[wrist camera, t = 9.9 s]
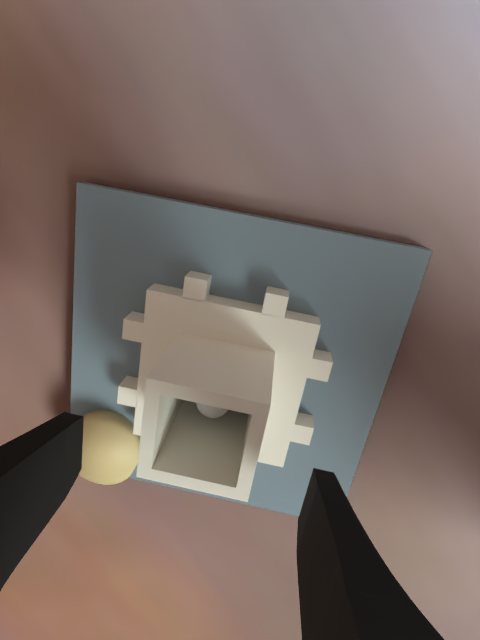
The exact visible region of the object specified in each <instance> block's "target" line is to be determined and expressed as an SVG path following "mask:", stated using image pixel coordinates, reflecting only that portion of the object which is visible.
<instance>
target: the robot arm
mask: <svg viewBox="0 0 480 640" xmlns="http://www.w3.org/2000/svg"><path fill="white" fill-rule="evenodd" d="M83 424H84V416H80V415H76V414H71V413H67V412H64V413H62V414H60V415H58V416H56V417H54V418H53V419H51V420H49V421H47V422H45V423H43V424H41V425H40V426H38V427H36V428H34V429H32V430H30V431H29V432H27V433H25V434H23V435H21V436H19V437H17V438H15V439H13V440H11V441H9V442H8V443H6V444H4V445H2V446H0V591H1V589H2V587H3V586H4V584H5V582H6V581H7V579H8V578H9V576H10V575H11V573H12V572H13V571H14V569H15V568H16V566H17V565H18V563H19V562H20V561H21V559H22V558H23V556H24V555H25V554H26V552H27V551H28V550H29V548H30V547H31V545H32V544H33V543H34V541H35V540H36V539H37V537H38V536H39V534H40V533H41V532H42V530H43V529H44V528H45V526H46V525H47V523H48V522H49V521H50V519H51V518H52V516H53V515H54V514H55V512H56V511H57V509H58V508H59V507H60V505H61V504H62V502H63V501H64V500H65V498H66V496H67V494H68V493H69V491H70V489H71V487H72V486H73V484H74V482H75V480H76V478H77V476H78V475H79V473H80V471H81V469H82V447H83ZM297 568H298V584H299V599H300V614H301V629H302V640H444V639H443V638H442V636H441V635H440V634H439V633H438V632H437V631H436V629H435V628H434V627H433V626H432V625H431V624H430V622H429V621H428V620H427V619H426V618H425V616H424V615H423V614H422V613H421V612H420V610H419V609H418V608H417V607H416V605H415V604H414V603H413V602H412V600H411V599H410V598H409V596H408V595H407V594H406V592H405V591H404V590H403V588H402V587H401V586H400V584H399V583H398V582H397V580H396V579H395V577H394V576H393V574H392V573H391V572H390V570H389V569H388V567H387V566H386V564H385V563H384V561H383V559H382V558H381V556H380V555H379V553H378V552H377V550H376V549H375V547H374V545H373V544H372V542H371V540H370V539H369V537H368V535H367V533H366V532H365V530H364V528H363V527H362V525H361V523H360V521H359V520H358V518H357V516H356V514H355V512H354V510H353V509H352V507H351V505H350V503H349V501H348V499H347V497H346V495H345V493H344V491H343V489H342V487H341V485H340V483H339V481H338V479H337V477H336V475H335V474H334V472H330V471H325V470H321V469H316V468H313V471H312V475H311V478H310V481H309V485H308V488H307V491H306V495H305V498H304V501H303V505H302V508H301V511H300V515H299V518H298V533H297Z"/></svg>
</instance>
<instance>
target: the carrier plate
mask: <svg viewBox="0 0 480 640" xmlns="http://www.w3.org/2000/svg"><path fill="white" fill-rule="evenodd" d="M431 254H432V251H431V250H429V249H428V248H426V247H421V246H415V245H410V244H405V243H400V242H395V241H390V240H384V239H379V238H374V237H369V236H364V235H358V234H353V233H348V232H343V231H338V230H333V229H327V228H322V227H317V226H312V225H307V224H301V223H296V222H291V221H286V220H281V219H276V218H270V217H265V216H260V215H255V214H250V213H244V212H239V211H234V210H229V209H224V208H219V207H213V206H208V205H203V204H198V203H193V202H187V201H182V200H177V199H172V198H167V197H162V196H156V195H151V194H146V193H141V192H136V191H130V190H125V189H120V188H115V187H110V186H105V185H99V184H94V183H89V182H77V185H76V221H75V258H74V294H73V330H72V367H71V403H70V413H71V414H76V415H80V416H84V424H83V447H82V469H81V471H80V473H79V475H80V476H82V477H83V478H85V479H87V480H89V481H91V482H94V483H98V484H105V485H109V484H116V483H120V482H122V481H124V480H126V479H127V478H132V479H137V480H141V481H145V482H150V483H154V484H158V485H163V486H167V487H172V488H176V489H180V490H185V491H189V492H194V493H198V494H202V495H207V496H211V497H216V498H220V499H224V500H229V501H233V502H237V503H242V504H246V505H251V506H255V507H259V508H264V509H268V510H273V511H277V512H281V513H286V514H290V515H294V516H299V515H300V511H301V508H302V505H303V501H304V498H305V495H306V491H307V488H308V485H309V481H310V478H311V475H312V471H313V468H316V469H321V470H325V471H330V472H334V474H335V475H336V477H337V479H338V481H339V483H340V485H341V487H342V489H343V491H344V493H345V495H346V497H347V495H348V492H349V489H350V486H351V483H352V481H353V478H354V475H355V472H356V469H357V466H358V463H359V460H360V458H361V455H362V452H363V449H364V446H365V443H366V440H367V437H368V435H369V432H370V429H371V426H372V423H373V420H374V417H375V414H376V412H377V409H378V406H379V403H380V400H381V397H382V394H383V392H384V389H385V386H386V383H387V380H388V377H389V374H390V371H391V369H392V366H393V363H394V360H395V357H396V354H397V351H398V348H399V346H400V343H401V340H402V337H403V334H404V331H405V328H406V325H407V323H408V320H409V317H410V314H411V311H412V308H413V305H414V302H415V300H416V297H417V294H418V291H419V288H420V285H421V282H422V279H423V277H424V274H425V271H426V268H427V265H428V262H429V259H430V257H431ZM190 271H195V272H200V273H205V274H210V275H212V279H211V285H210V292H209V294H210V295H215V296H219V297H224V298H229V299H234V300H239V301H244V302H249V303H254V304H259V305H263V304H264V299H265V294H266V289H267V286H270V287H275V288H280V289H285V290H289V299H288V303H287V308H286V310H288V311H293V312H298V313H303V314H308V315H313V316H318V317H319V319H320V323H321V327H320V331H319V334H318V338H317V342H316V346H315V349H317V350H322V351H326V352H331V356H332V360H333V365H332V368H331V372H330V375H329V379H328V382H324V381H320V380H315V379H310V378H307V379H306V383H305V387H304V391H303V395H302V398H301V402H300V406H299V410H298V412H299V413H304V414H308V415H313V422H314V431H313V434H312V438H311V441H310V445H304V444H300V443H295V442H291V441H290V443H289V447H288V451H287V455H286V458H285V462H284V466H283V467H279V466H274V465H270V464H265V463H261V462H257V465H256V470H255V474H254V478H253V482H252V487H251V491H250V495H249V499H248V502H244V501H240V500H235V499H231V498H226V497H222V496H218V495H213V494H209V493H205V492H200V491H196V490H191V489H187V488H183V487H178V486H174V485H169V484H165V483H161V482H156V481H152V480H147V479H143V478H139V477H136V474H137V464H138V455H139V445H140V436H139V435H135V434H133V428H134V417H135V407H131V406H127V405H122V404H117V398H118V386H119V385H120V383H121V382H122V381H123V380H124V378H125V377H126V376H132V377H137V378H138V375H139V365H140V354H141V344H142V343H140V342H135V341H130V340H125V339H122V332H123V319H124V318H125V317H126V316H127V315H129V314H130V313H131V312H132V311H134V312H139V313H143V314H144V312H145V302H146V291H147V289H148V288H149V287H151V286H152V285H153V284H154V283H156V284H161V285H165V286H170V287H175V288H180V289H183V287H184V279H185V276H186V275H187V274H188V273H189V272H190ZM196 405H197V408H198V410H199V411H200V412H201V413H202V414H203V415H204V416H206V417H209V418H218V417H221V416H223V415H224V414H225V413H226V412H227V411H228V409H223V408H218V407H214V406H209V405H205V404H200V403H196Z"/></svg>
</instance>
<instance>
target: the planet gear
mask: <svg viewBox="0 0 480 640" xmlns="http://www.w3.org/2000/svg"><path fill="white" fill-rule="evenodd" d="M211 279H212V275H210V274H205V273H200V272H195V271H190V272H189V273H188V274H187V275H186V276H185V279H184V287H183V289H180V288H175V287H170V286H165V285H161V284H156V283H154V284H153V285H152V286H151V287H149V288H148V289H147V291H146V302H145V312H144V314H143V313H139V312H134V311H132V312H131V313H130V314H129V315H127V316H126V317H125V318H124V319H123V332H122V339H125V340H130V341H135V342H140V343H142V344H141V354H140V365H139V375H138V378H137V377H132V376H126V377H125V378H124V380H123V381H122V382H121V383H120V385H119V386H118V398H117V404H122V405H127V406H131V407H135V417H134V428H133V434H135V435H139V436H140V445H139V455H138V464H137V474H136V477H139V478H143V479H147V480H152V481H156V482H161V483H165V484H169V485H174V486H178V487H183V488H187V489H191V490H196V491H200V492H205V493H209V494H213V495H218V496H222V497H226V498H231V499H235V500H240V501H244V502H248V499H249V495H250V491H251V487H252V482H253V478H254V474H255V470H256V465H257V462H261V463H265V464H270V465H274V466H279V467H283V466H284V462H285V458H286V455H287V451H288V447H289V443H290V441H291V442H295V443H300V444H304V445H310V441H311V438H312V434H313V431H314V422H313V415H308V414H304V413H299V412H298V410H299V406H300V402H301V398H302V395H303V391H304V387H305V383H306V379H307V378H310V379H315V380H320V381H324V382H328V379H329V375H330V372H331V368H332V365H333V360H332V356H331V352H326V351H322V350H317V349H315V346H316V342H317V338H318V334H319V331H320V327H321V323H320V319H319V317H318V316H313V315H308V314H303V313H298V312H293V311H288V310H286V308H287V303H288V299H289V290H285V289H280V288H275V287H270V286H267V289H266V294H265V299H264V304H263V305H259V304H254V303H249V302H244V301H239V300H234V299H229V298H224V297H219V296H215V295H210V294H209V292H210V285H211ZM196 403H200V404H205V405H209V406H214V407H218V408H223V409H228V411H227V412H226V413H225V414H224V415H223V416H221V417H218V418H209V417H206V416H204V415H203V414H202V413H201V412H200V411H199V410H198V408H197V405H196Z"/></svg>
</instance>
